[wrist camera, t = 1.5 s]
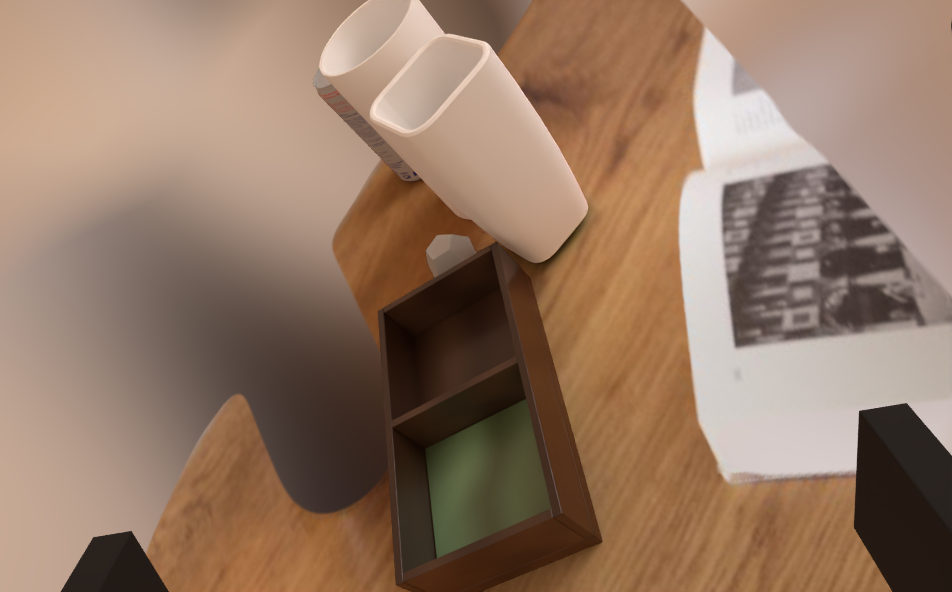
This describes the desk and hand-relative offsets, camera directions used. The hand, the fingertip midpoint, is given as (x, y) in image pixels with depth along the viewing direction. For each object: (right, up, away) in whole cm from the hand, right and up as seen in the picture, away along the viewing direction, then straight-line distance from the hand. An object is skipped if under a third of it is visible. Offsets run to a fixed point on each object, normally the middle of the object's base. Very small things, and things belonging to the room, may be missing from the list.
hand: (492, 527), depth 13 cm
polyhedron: (-1, +6, +42) cm, 42 cm away
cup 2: (+5, +9, +39) cm, 41 cm away
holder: (+1, -4, +32) cm, 33 cm away
